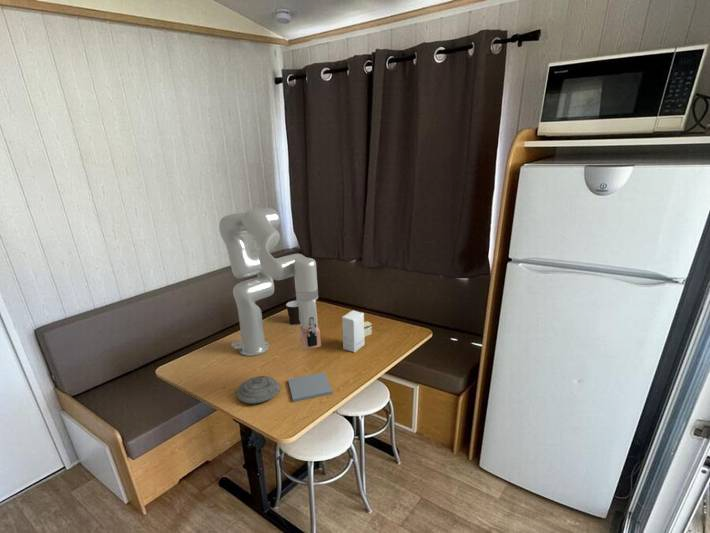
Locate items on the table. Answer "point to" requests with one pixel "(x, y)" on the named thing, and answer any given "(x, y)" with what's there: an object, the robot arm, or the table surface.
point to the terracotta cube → (304, 337)
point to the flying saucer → (258, 389)
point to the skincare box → (353, 331)
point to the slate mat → (309, 386)
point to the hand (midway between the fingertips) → (310, 341)
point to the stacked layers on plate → (367, 328)
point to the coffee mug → (293, 312)
